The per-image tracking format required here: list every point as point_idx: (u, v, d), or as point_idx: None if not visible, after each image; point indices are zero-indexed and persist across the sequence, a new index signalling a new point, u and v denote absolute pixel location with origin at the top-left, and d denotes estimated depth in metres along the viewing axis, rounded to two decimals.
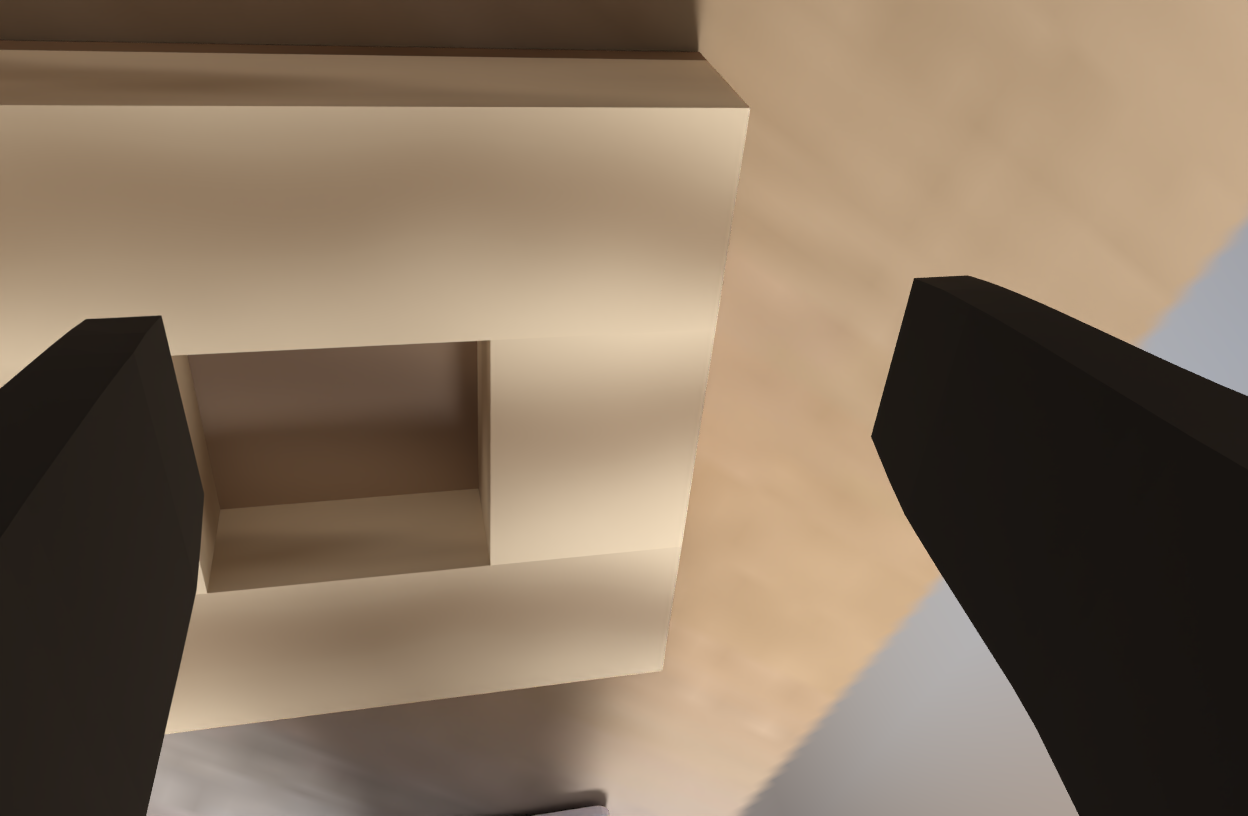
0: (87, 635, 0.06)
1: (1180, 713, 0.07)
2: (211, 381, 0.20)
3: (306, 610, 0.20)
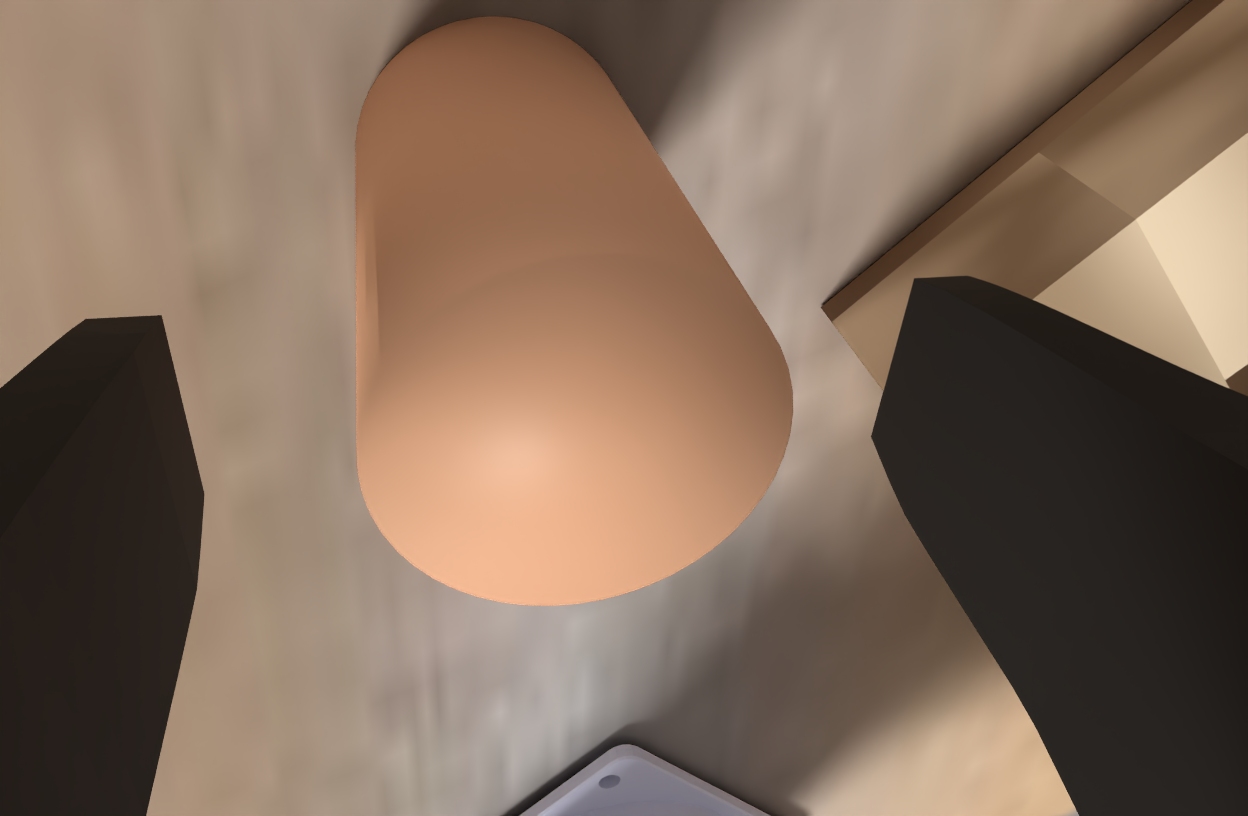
0: (87, 635, 0.06)
1: (1180, 713, 0.07)
2: None
3: None
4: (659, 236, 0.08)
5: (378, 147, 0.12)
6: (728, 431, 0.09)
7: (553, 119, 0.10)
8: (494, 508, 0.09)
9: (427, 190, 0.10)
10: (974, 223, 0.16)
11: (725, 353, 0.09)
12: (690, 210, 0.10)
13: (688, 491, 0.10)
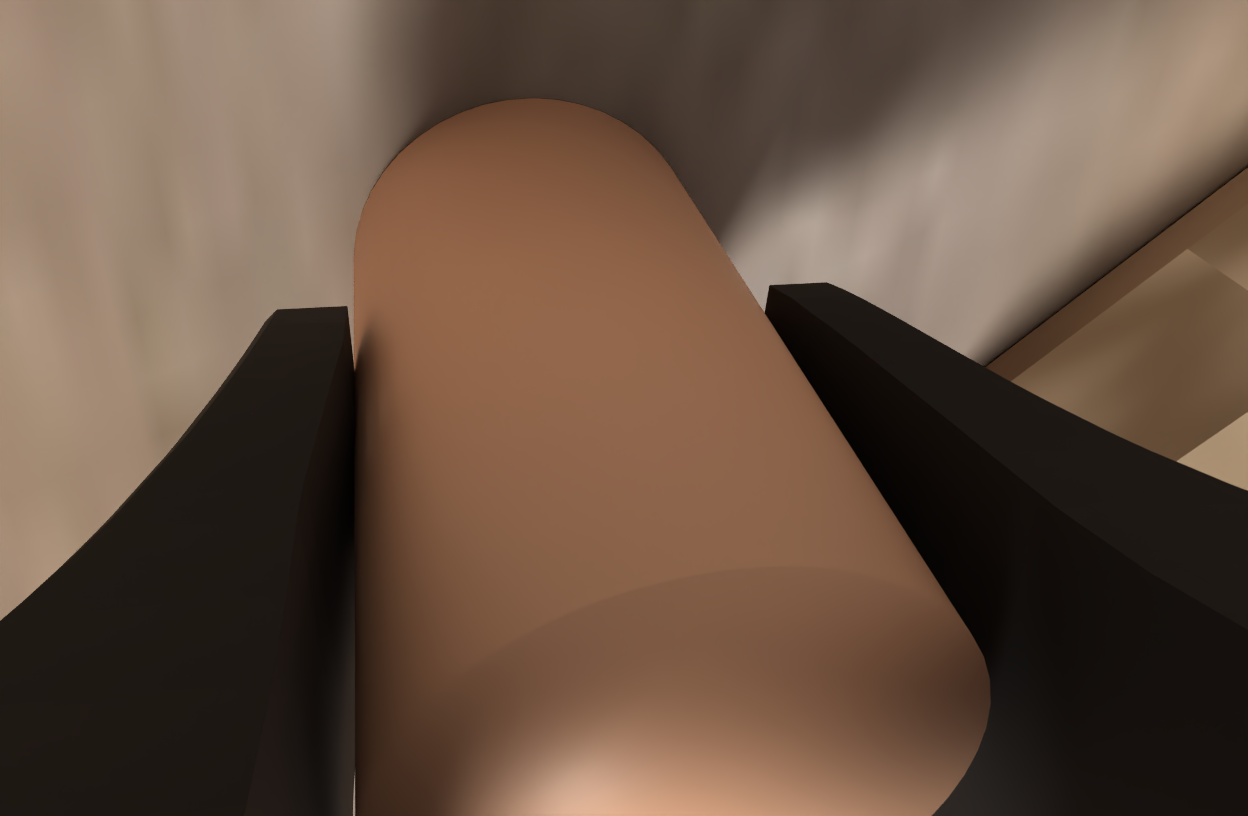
0: (329, 608, 0.07)
1: (988, 745, 0.07)
2: None
3: None
4: (813, 511, 0.06)
5: (384, 289, 0.09)
6: (893, 756, 0.06)
7: (629, 279, 0.07)
8: None
9: (456, 397, 0.07)
10: (1108, 334, 0.13)
11: (903, 672, 0.06)
12: (822, 411, 0.07)
13: None
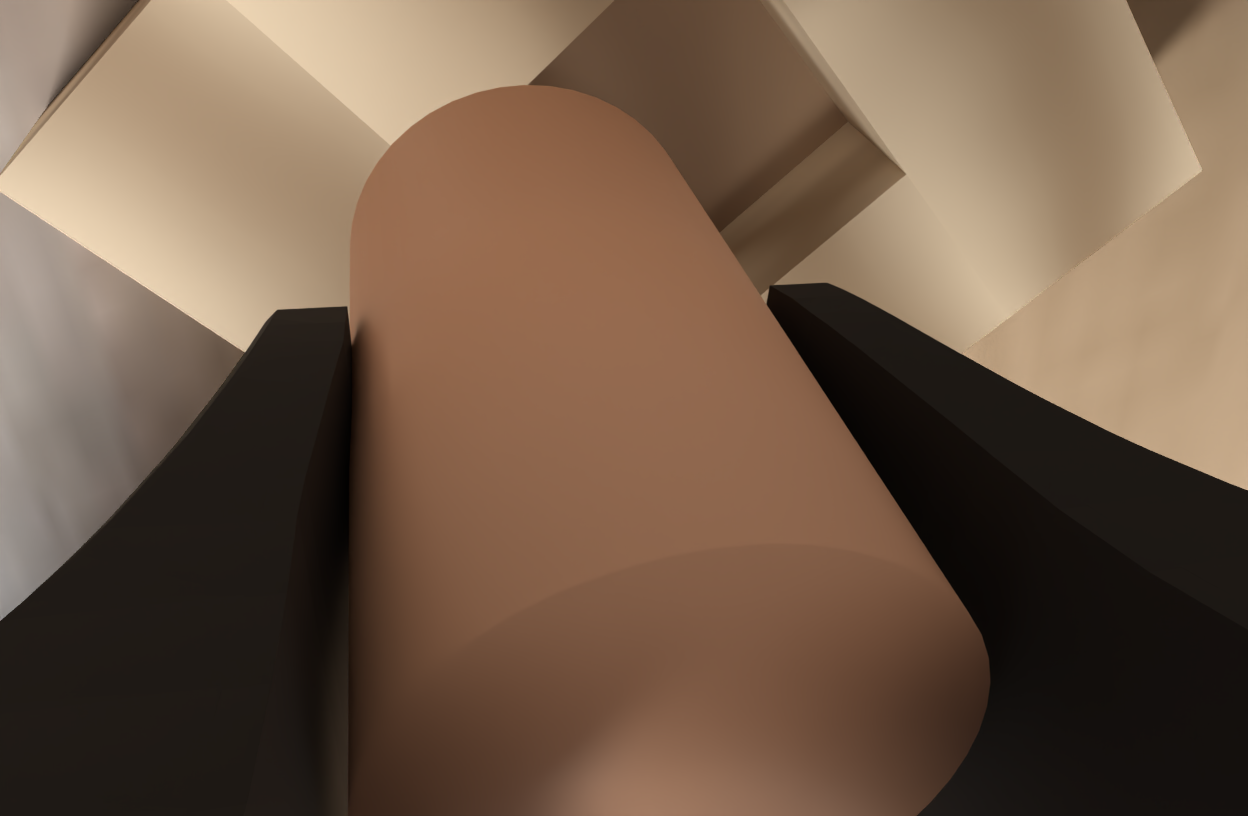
0: (329, 608, 0.07)
1: (988, 745, 0.07)
2: None
3: None
4: (803, 487, 0.05)
5: (376, 279, 0.09)
6: (893, 738, 0.06)
7: (619, 261, 0.07)
8: None
9: (446, 382, 0.07)
10: (140, 1, 0.15)
11: (900, 652, 0.06)
12: (817, 390, 0.07)
13: (829, 808, 0.07)
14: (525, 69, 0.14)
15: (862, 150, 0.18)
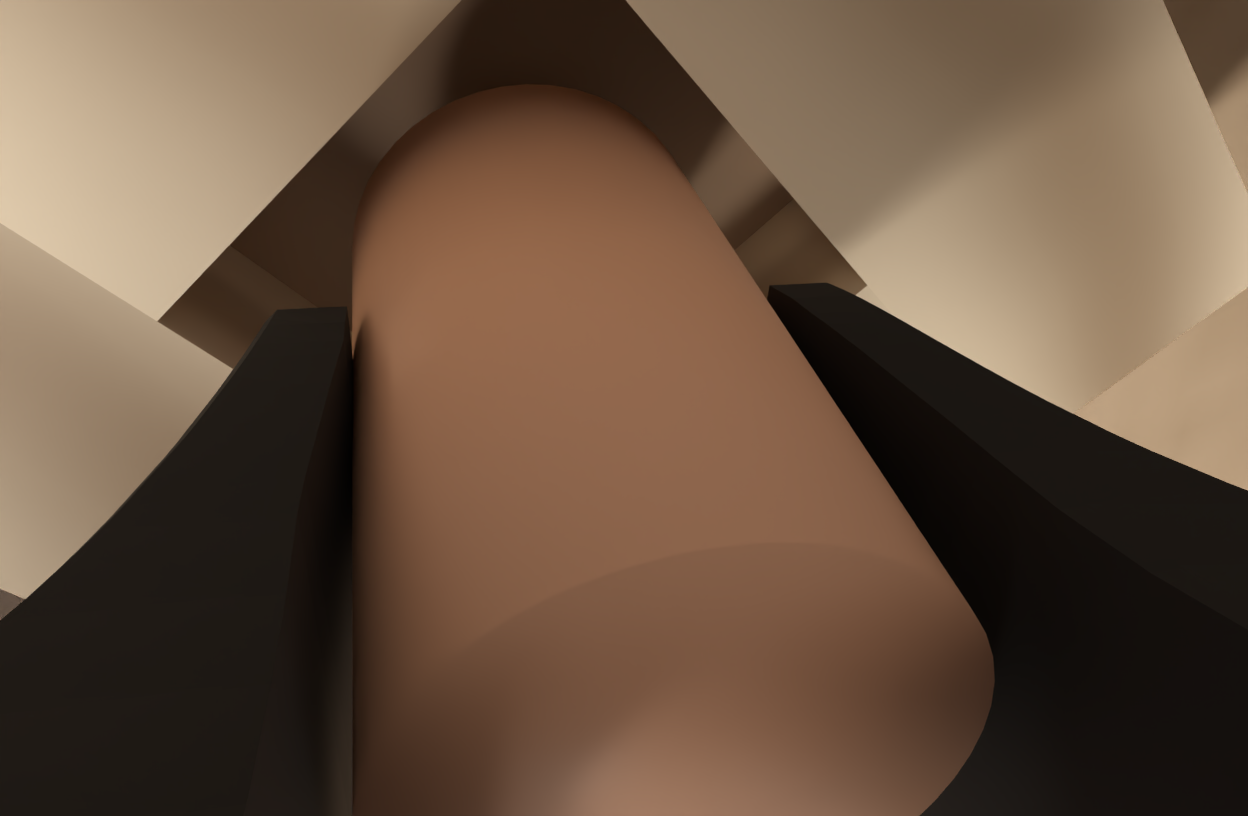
0: (329, 608, 0.07)
1: (988, 744, 0.07)
2: None
3: None
4: (808, 487, 0.05)
5: (379, 278, 0.09)
6: (898, 737, 0.06)
7: (624, 260, 0.07)
8: None
9: (450, 381, 0.07)
10: None
11: (904, 650, 0.06)
12: (821, 390, 0.07)
13: (832, 807, 0.07)
14: (279, 162, 0.09)
15: (810, 242, 0.13)
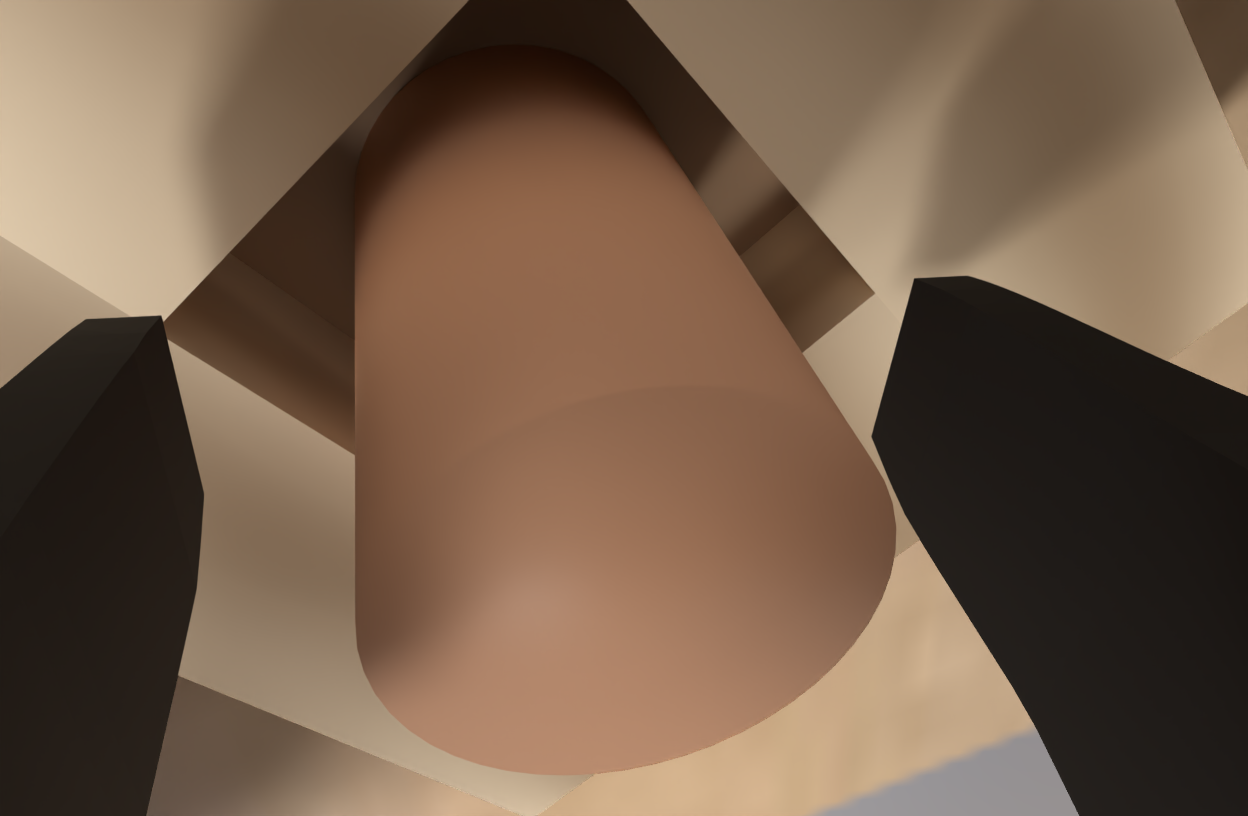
0: (87, 635, 0.06)
1: (1180, 713, 0.07)
2: None
3: (256, 465, 0.11)
4: (733, 351, 0.07)
5: (379, 209, 0.10)
6: (816, 577, 0.07)
7: (590, 183, 0.08)
8: (528, 677, 0.07)
9: (438, 280, 0.08)
10: None
11: (816, 493, 0.07)
12: (758, 293, 0.08)
13: (764, 644, 0.08)
14: (279, 170, 0.09)
15: (817, 249, 0.13)
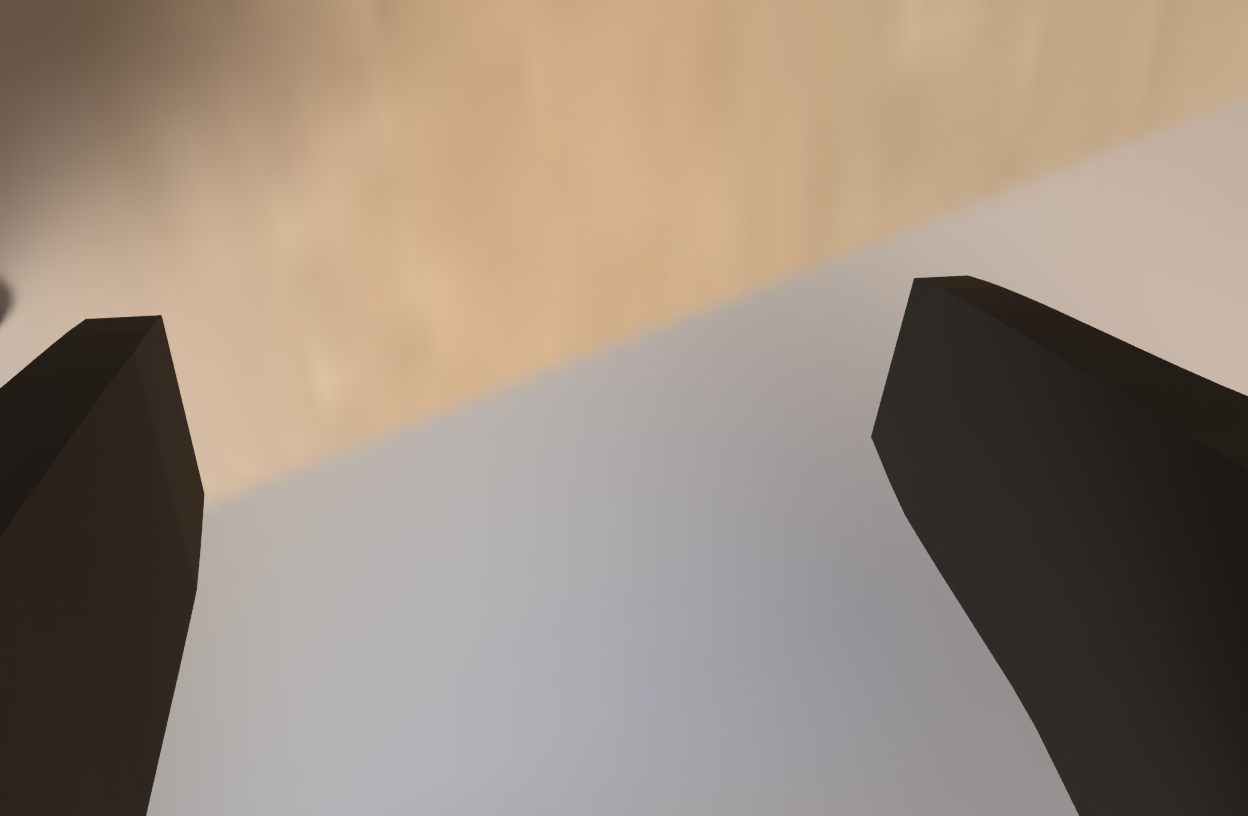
0: (87, 635, 0.06)
1: (1180, 713, 0.07)
2: None
3: None
4: None
5: None
6: None
7: None
8: None
9: None
10: None
11: None
12: None
13: None
14: None
15: None
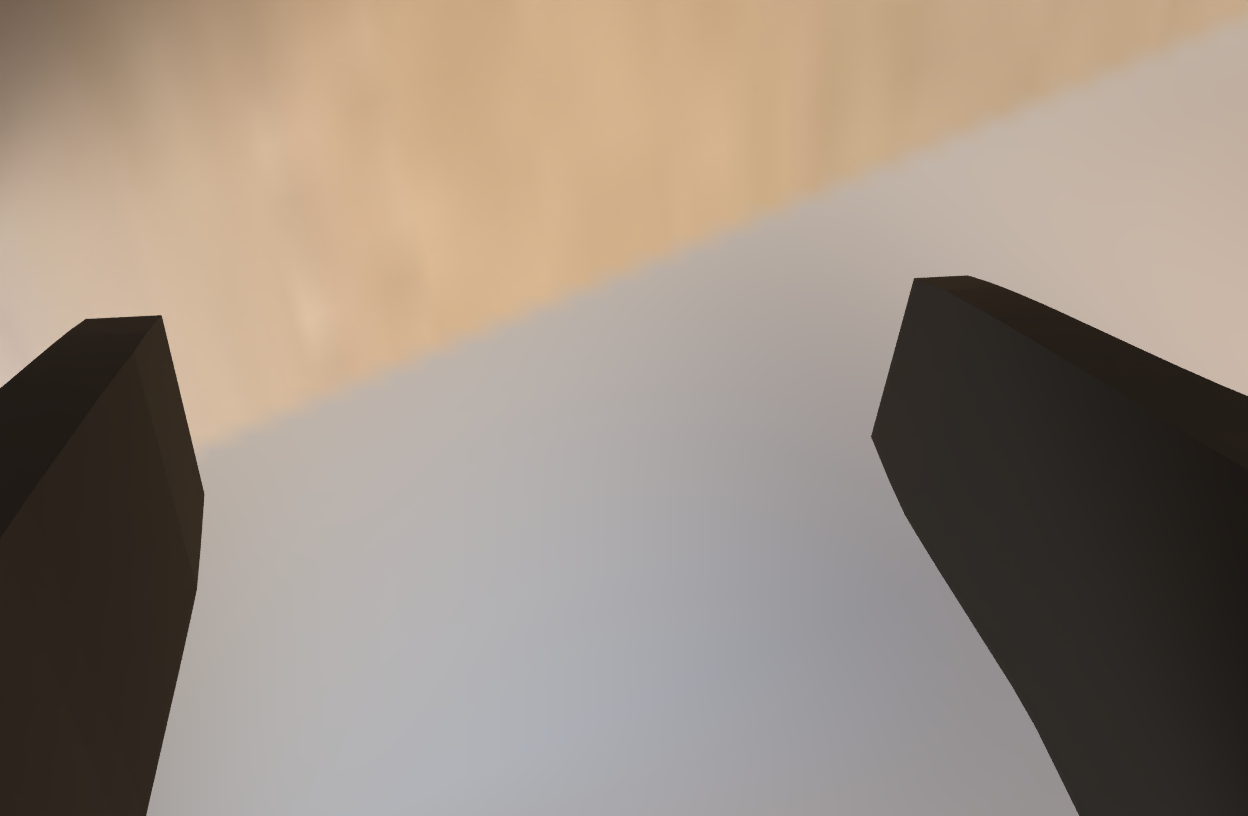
0: (87, 635, 0.06)
1: (1180, 713, 0.07)
2: None
3: None
4: None
5: None
6: None
7: None
8: None
9: None
10: None
11: None
12: None
13: None
14: None
15: None
